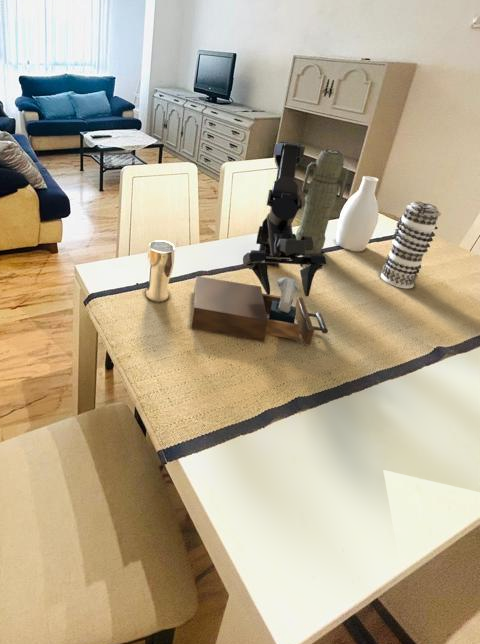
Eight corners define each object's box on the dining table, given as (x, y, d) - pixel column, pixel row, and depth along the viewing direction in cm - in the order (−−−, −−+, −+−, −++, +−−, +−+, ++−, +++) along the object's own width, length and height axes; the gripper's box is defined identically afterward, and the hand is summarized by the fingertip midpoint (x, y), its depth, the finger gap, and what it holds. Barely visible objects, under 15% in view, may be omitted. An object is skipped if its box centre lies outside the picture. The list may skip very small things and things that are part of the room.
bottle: (375, 254, 131) (398, 184, 122) (342, 252, 131) (363, 183, 122) (356, 238, 142) (377, 173, 132) (326, 237, 142) (345, 171, 132)
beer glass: (173, 291, 106) (178, 243, 100) (165, 305, 100) (170, 255, 94) (149, 284, 109) (154, 237, 103) (140, 297, 103) (144, 248, 97)
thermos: (327, 259, 126) (357, 157, 114) (289, 251, 130) (313, 151, 117) (324, 247, 134) (352, 150, 121) (288, 240, 138) (311, 145, 125)
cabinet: (256, 305, 102) (260, 286, 100) (263, 341, 90) (268, 320, 87) (193, 294, 105) (196, 275, 103) (191, 328, 93) (194, 307, 90)
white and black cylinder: (383, 268, 123) (408, 196, 114) (418, 281, 117) (447, 206, 108) (375, 279, 117) (401, 203, 108) (411, 293, 111) (442, 214, 102)
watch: (294, 313, 97) (303, 275, 93) (292, 332, 90) (302, 293, 86) (270, 305, 99) (279, 269, 95) (267, 324, 92) (276, 286, 88)
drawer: (316, 314, 98) (320, 300, 97) (329, 349, 87) (334, 333, 86) (236, 300, 102) (239, 287, 101) (240, 332, 91) (243, 317, 89)
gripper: (254, 220, 91) (260, 287, 85) (333, 224, 91) (345, 292, 85) (240, 234, 101) (244, 295, 95) (311, 238, 101) (320, 299, 95)
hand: (287, 295), depth 92 cm, fingers open, 9 cm apart
